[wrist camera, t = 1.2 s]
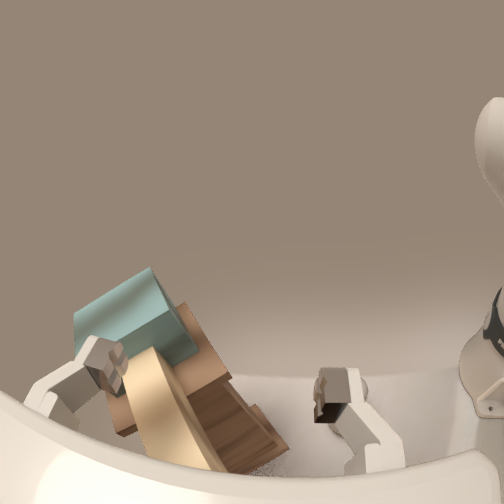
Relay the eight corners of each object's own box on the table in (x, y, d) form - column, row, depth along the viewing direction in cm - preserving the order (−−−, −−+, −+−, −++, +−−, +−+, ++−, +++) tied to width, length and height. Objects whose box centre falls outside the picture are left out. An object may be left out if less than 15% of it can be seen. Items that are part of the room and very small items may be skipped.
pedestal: (289, 448, 34) (227, 371, 19) (231, 482, 32) (115, 433, 16) (257, 406, 41) (184, 301, 26) (205, 437, 38) (98, 353, 23)
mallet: (278, 470, 12) (254, 456, 10) (164, 523, 10) (110, 517, 7) (175, 307, 26) (149, 266, 23) (106, 348, 23) (73, 313, 20)
